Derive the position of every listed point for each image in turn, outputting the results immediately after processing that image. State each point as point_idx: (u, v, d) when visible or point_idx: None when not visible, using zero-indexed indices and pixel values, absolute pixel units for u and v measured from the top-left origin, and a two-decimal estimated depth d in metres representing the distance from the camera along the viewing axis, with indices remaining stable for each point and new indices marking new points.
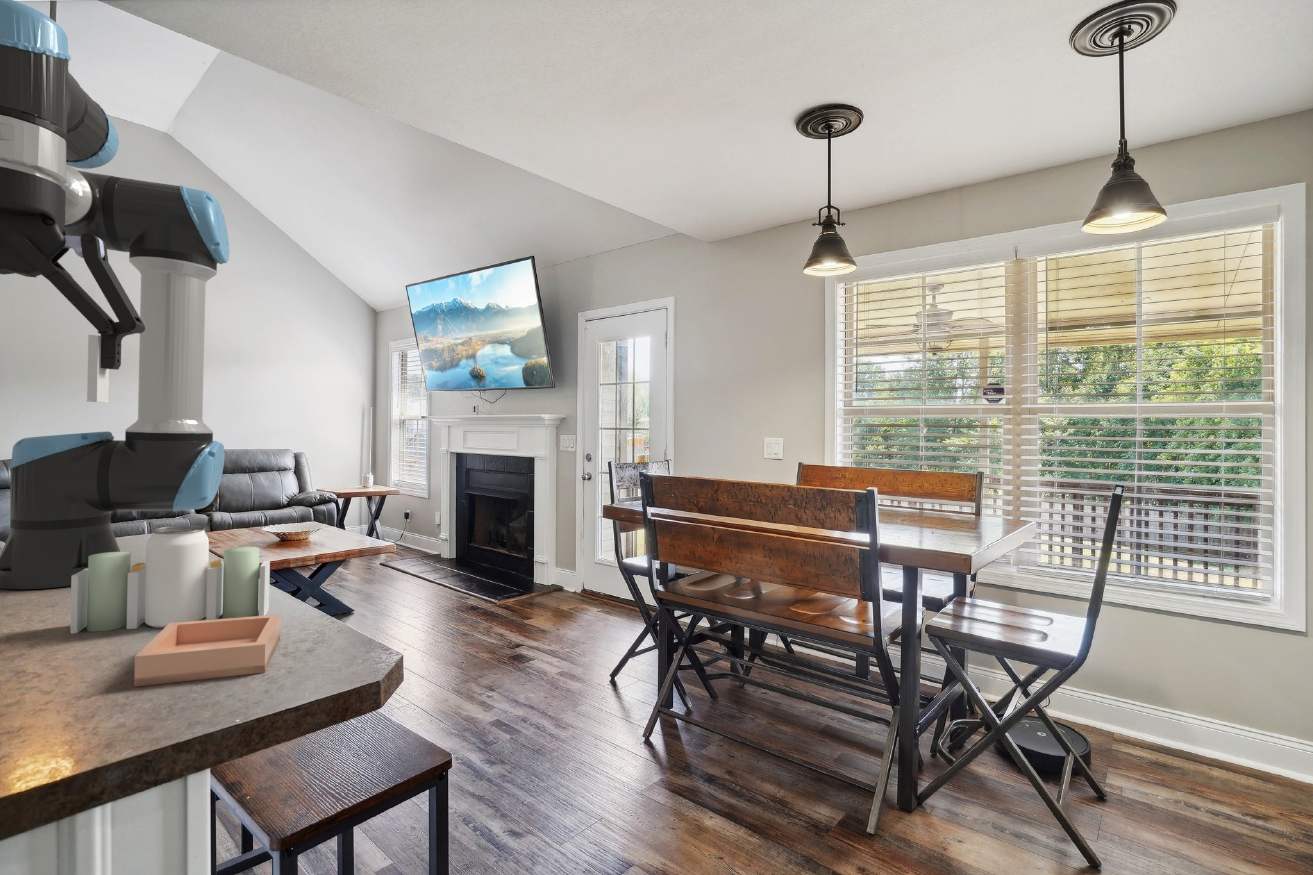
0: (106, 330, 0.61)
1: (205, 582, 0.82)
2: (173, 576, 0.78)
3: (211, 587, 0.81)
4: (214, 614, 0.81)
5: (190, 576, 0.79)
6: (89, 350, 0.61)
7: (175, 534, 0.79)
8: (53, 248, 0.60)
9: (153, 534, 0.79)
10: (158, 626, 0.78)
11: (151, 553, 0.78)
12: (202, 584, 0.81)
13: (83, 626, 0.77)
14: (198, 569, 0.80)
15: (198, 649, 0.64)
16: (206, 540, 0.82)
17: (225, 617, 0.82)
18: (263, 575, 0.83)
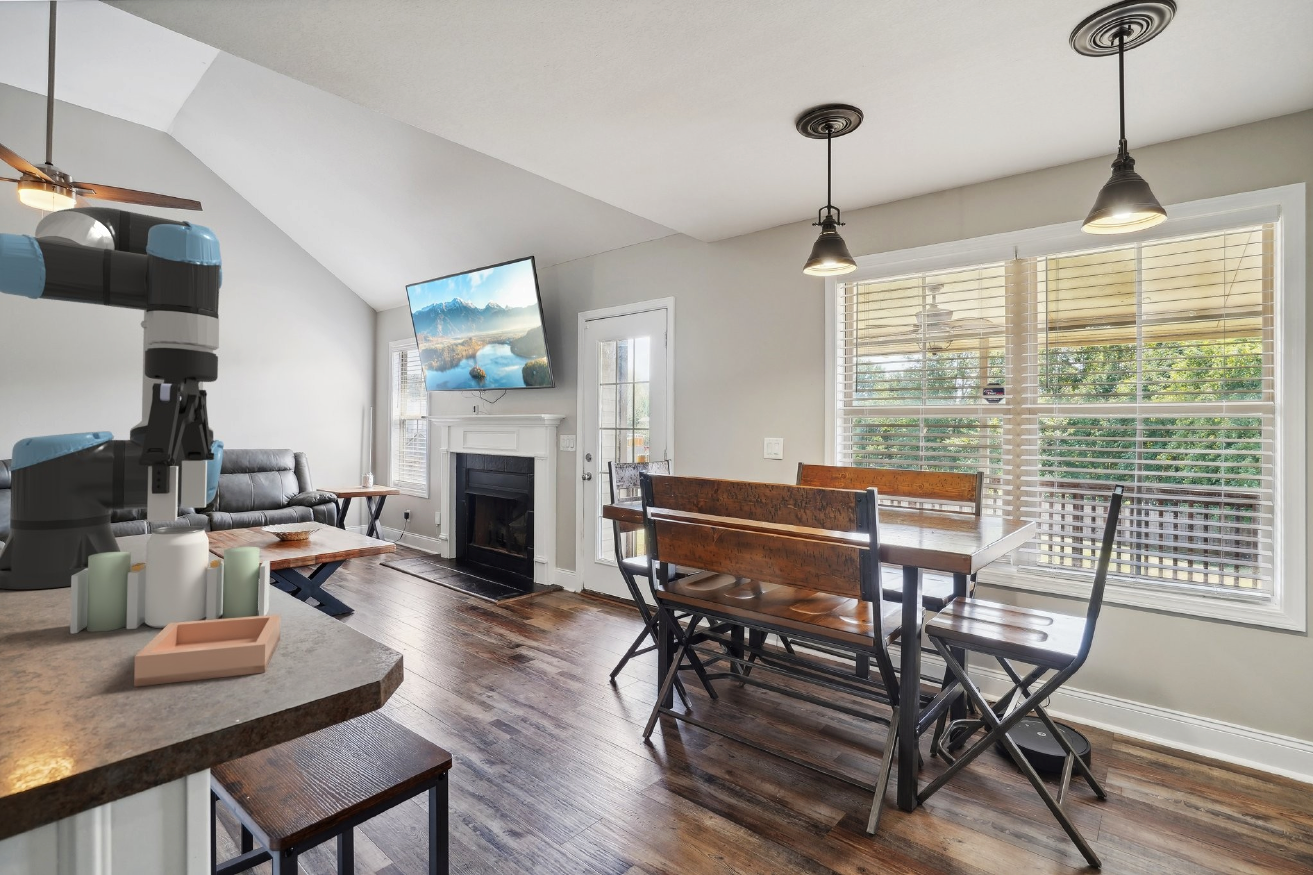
0: None
1: (205, 582, 0.82)
2: (173, 576, 0.78)
3: (211, 587, 0.81)
4: (214, 614, 0.81)
5: (190, 576, 0.79)
6: None
7: (175, 534, 0.79)
8: None
9: (153, 534, 0.79)
10: (158, 626, 0.78)
11: (151, 553, 0.78)
12: (202, 584, 0.81)
13: (83, 626, 0.77)
14: (198, 569, 0.80)
15: (198, 649, 0.64)
16: (206, 540, 0.82)
17: (225, 617, 0.82)
18: (263, 575, 0.83)
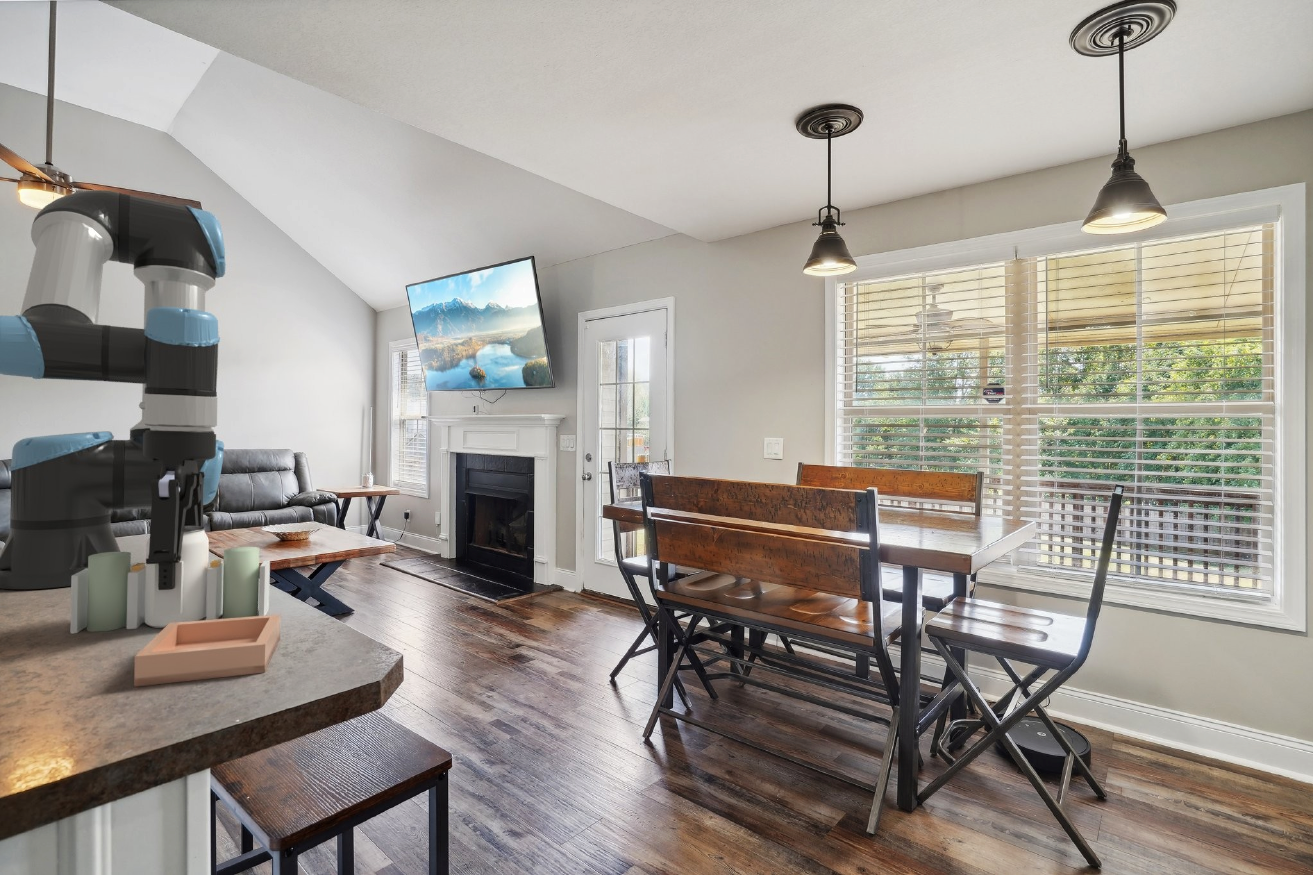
0: None
1: (205, 582, 0.82)
2: None
3: (211, 587, 0.81)
4: (214, 614, 0.81)
5: (190, 576, 0.79)
6: None
7: None
8: None
9: None
10: (158, 626, 0.78)
11: None
12: (202, 584, 0.81)
13: (83, 626, 0.77)
14: (198, 569, 0.80)
15: (198, 649, 0.64)
16: (206, 540, 0.82)
17: (225, 617, 0.82)
18: (263, 575, 0.83)
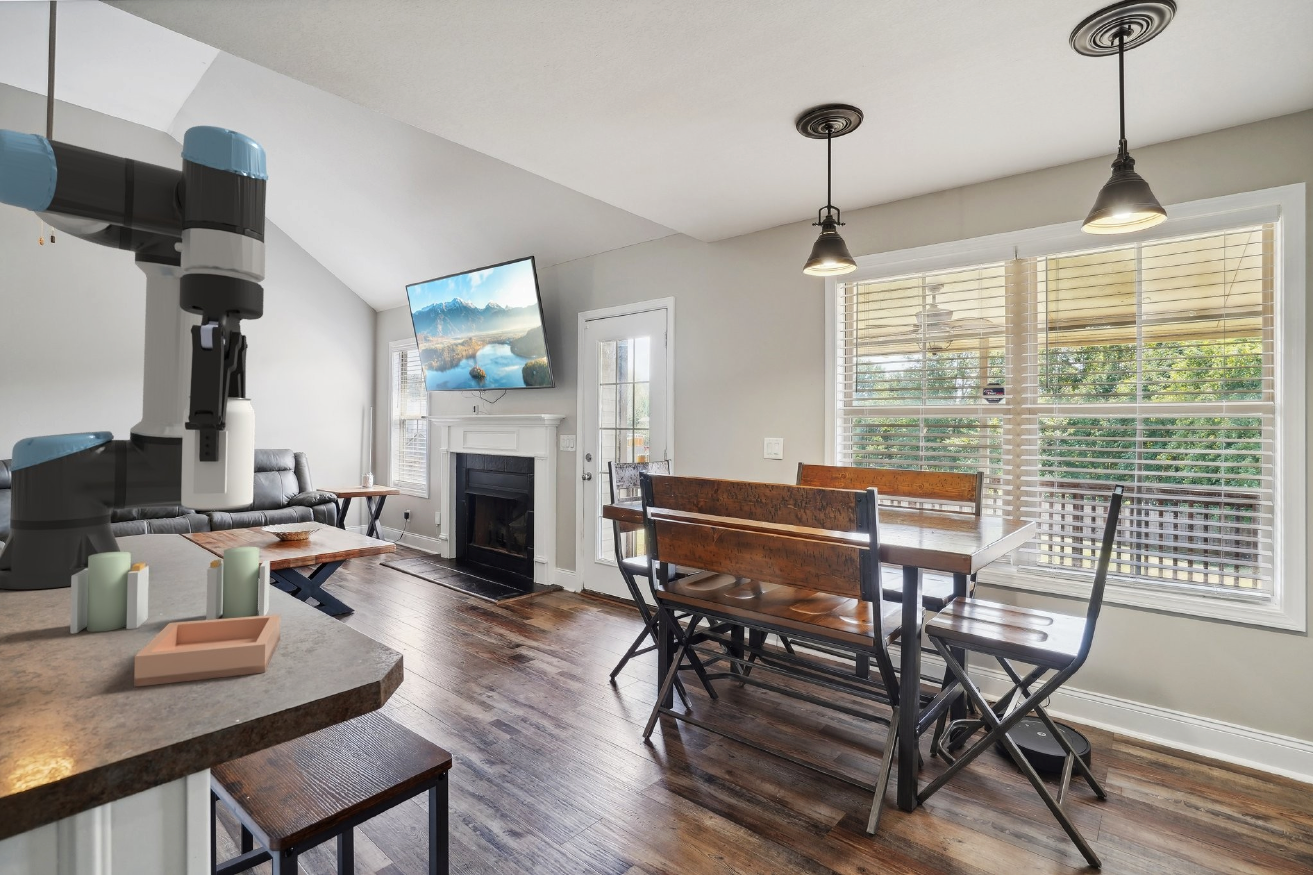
0: None
1: (251, 462, 0.69)
2: None
3: (211, 587, 0.81)
4: (214, 614, 0.81)
5: (235, 450, 0.67)
6: None
7: None
8: None
9: None
10: (198, 507, 0.65)
11: None
12: (249, 463, 0.68)
13: (83, 626, 0.77)
14: (244, 444, 0.68)
15: (198, 649, 0.64)
16: (252, 412, 0.69)
17: (225, 617, 0.82)
18: (263, 575, 0.83)
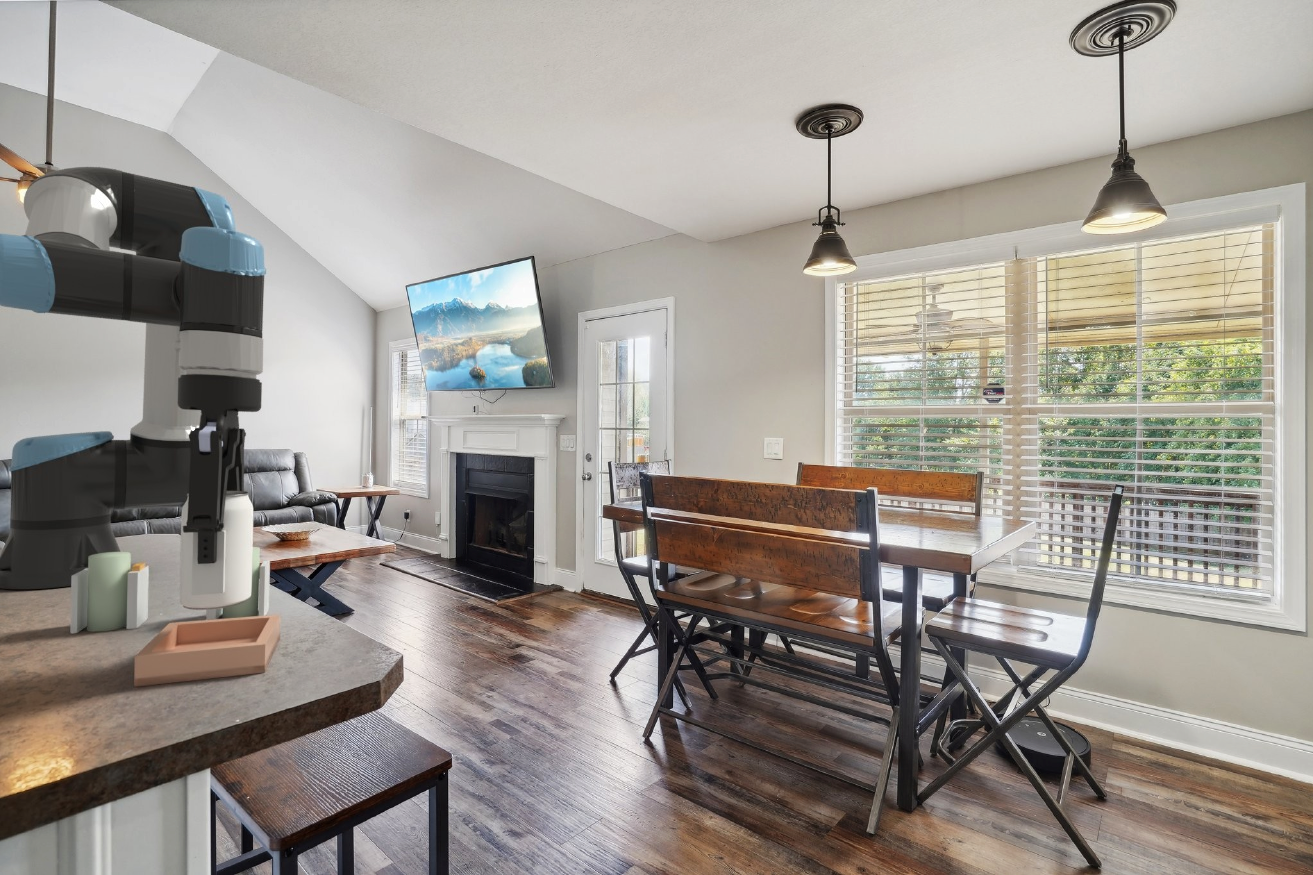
0: None
1: (249, 556, 0.69)
2: None
3: None
4: (214, 614, 0.81)
5: (233, 548, 0.67)
6: None
7: None
8: None
9: None
10: (196, 607, 0.65)
11: None
12: (247, 558, 0.69)
13: (83, 626, 0.77)
14: (242, 540, 0.68)
15: (198, 649, 0.64)
16: (251, 507, 0.69)
17: (225, 617, 0.82)
18: (263, 575, 0.83)
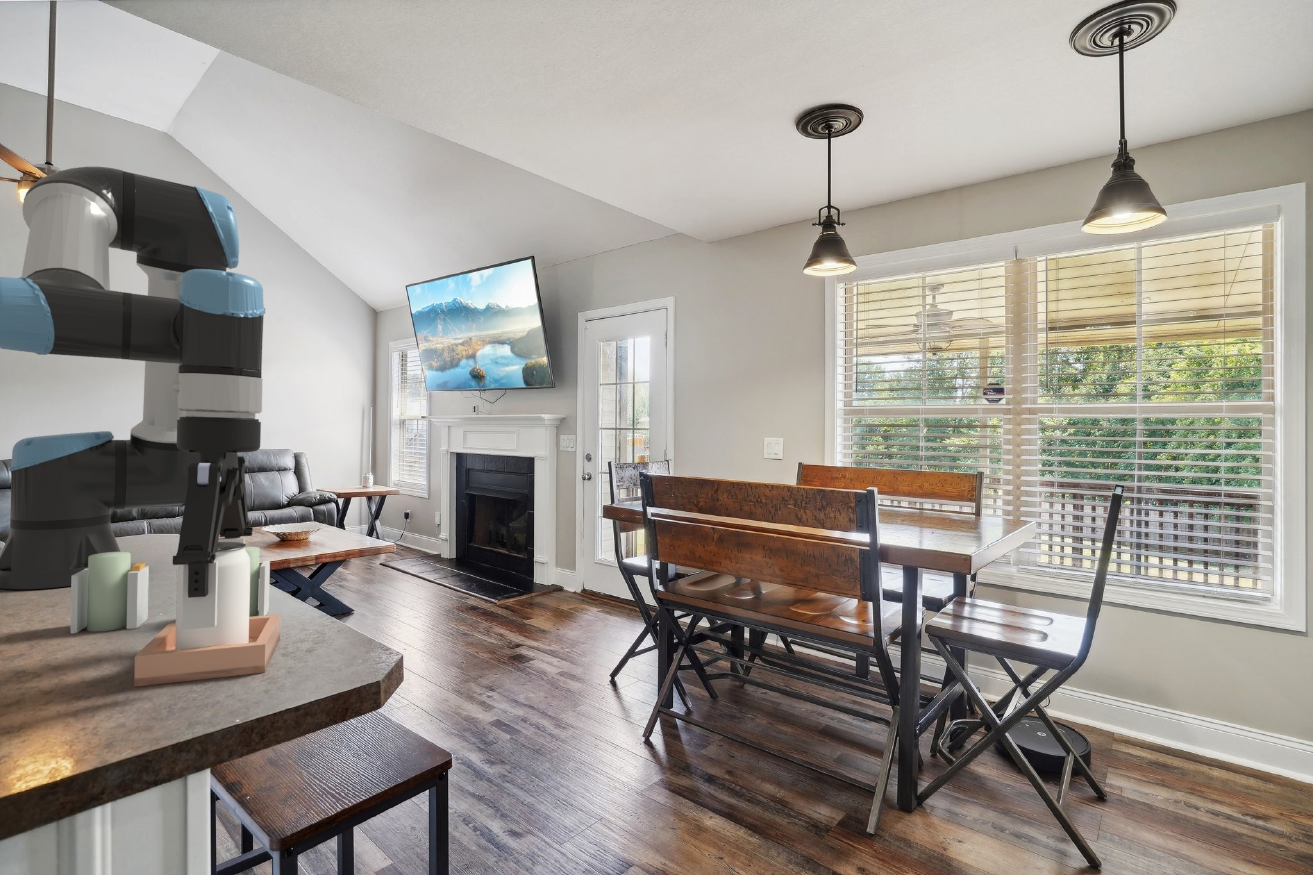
0: None
1: (246, 610, 0.68)
2: None
3: None
4: None
5: (229, 603, 0.66)
6: None
7: None
8: None
9: None
10: None
11: None
12: (243, 613, 0.67)
13: (83, 626, 0.77)
14: (238, 595, 0.67)
15: (198, 649, 0.64)
16: (247, 560, 0.68)
17: None
18: (263, 575, 0.83)
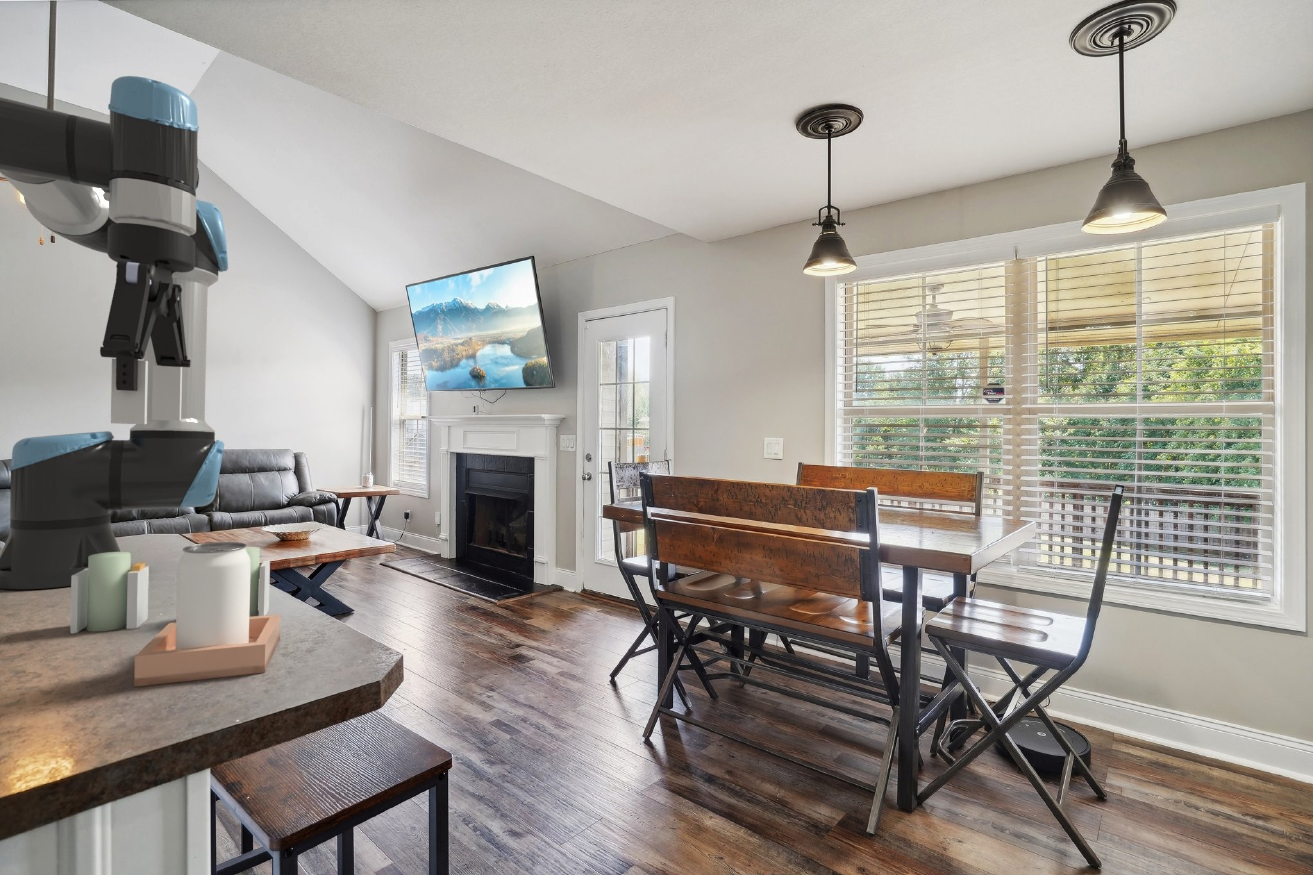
0: None
1: (246, 610, 0.68)
2: (209, 605, 0.65)
3: None
4: None
5: (229, 603, 0.66)
6: None
7: (212, 553, 0.65)
8: None
9: (186, 553, 0.65)
10: None
11: (183, 576, 0.64)
12: (244, 613, 0.67)
13: (83, 626, 0.77)
14: (239, 595, 0.67)
15: (198, 649, 0.64)
16: (248, 560, 0.68)
17: None
18: (263, 575, 0.83)
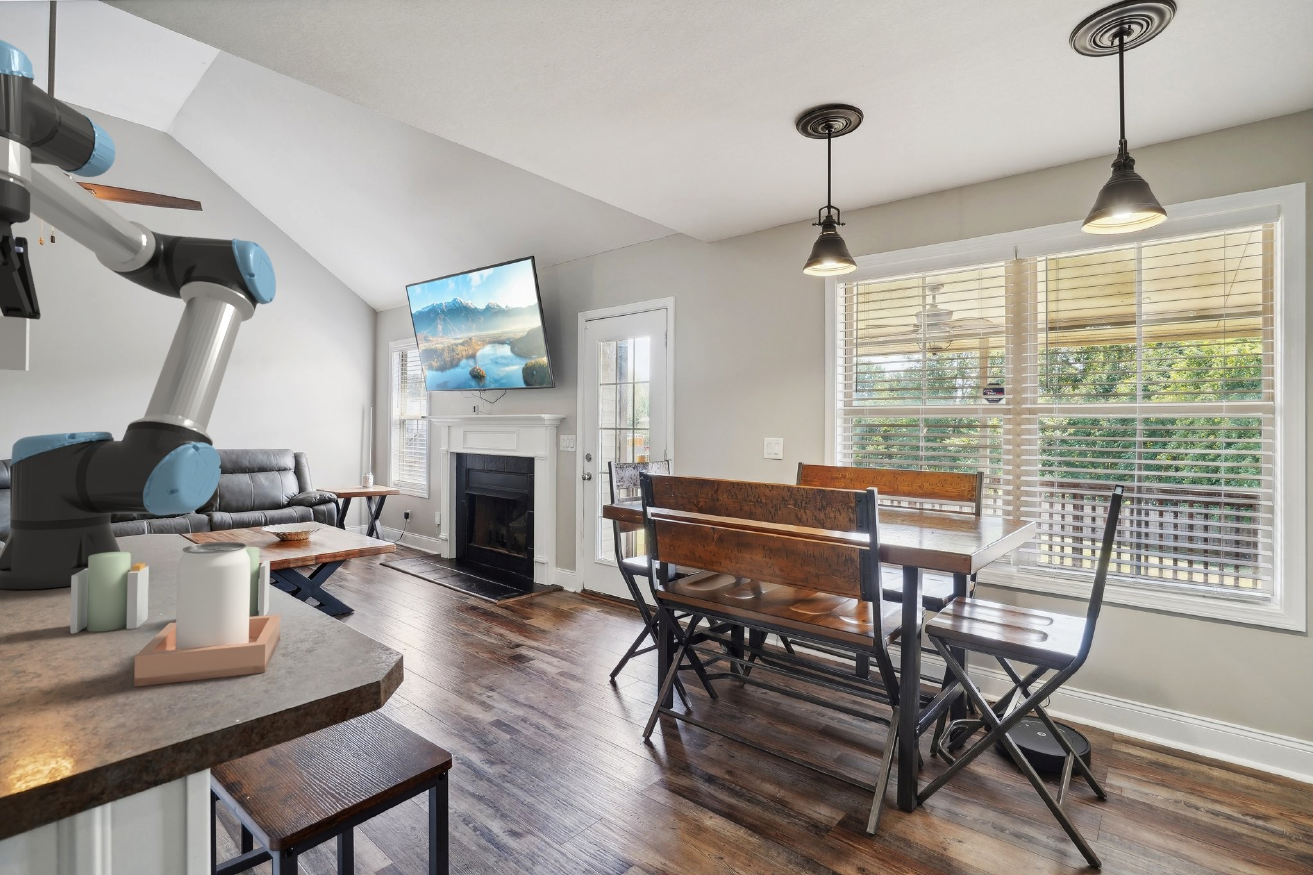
0: None
1: (246, 610, 0.68)
2: (209, 605, 0.65)
3: None
4: None
5: (229, 603, 0.66)
6: None
7: (212, 553, 0.65)
8: None
9: (185, 553, 0.65)
10: None
11: (183, 576, 0.64)
12: (243, 613, 0.67)
13: (83, 626, 0.77)
14: (238, 595, 0.67)
15: (198, 649, 0.64)
16: (248, 560, 0.68)
17: None
18: (263, 575, 0.83)
